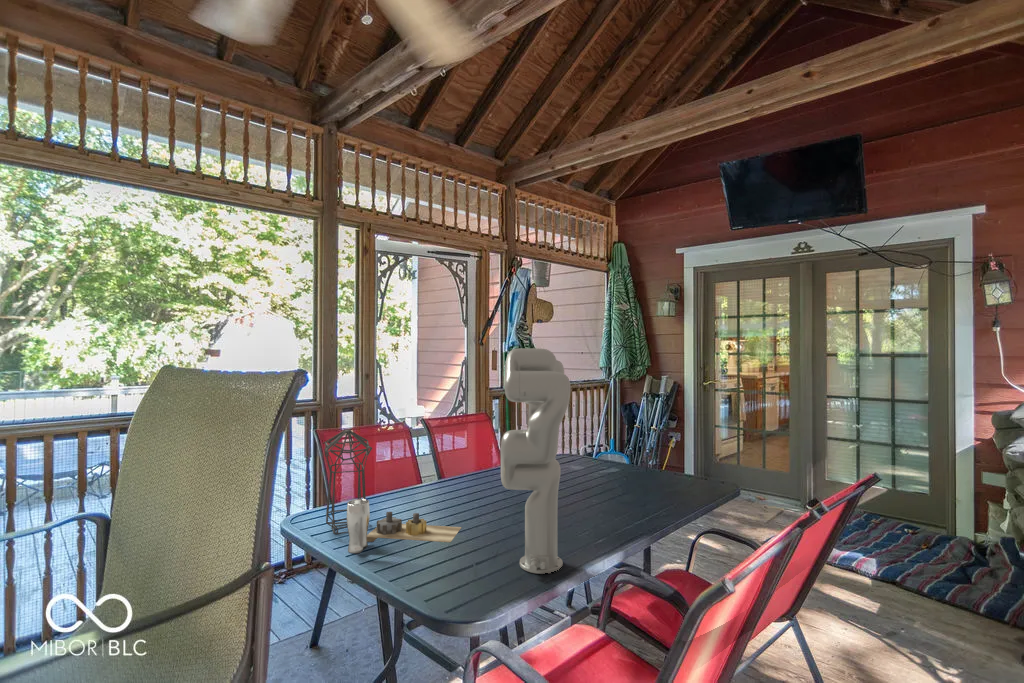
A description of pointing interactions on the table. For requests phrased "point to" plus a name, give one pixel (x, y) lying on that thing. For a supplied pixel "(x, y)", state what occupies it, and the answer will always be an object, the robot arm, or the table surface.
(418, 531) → the brass gear
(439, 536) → the gear board
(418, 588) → the table surface
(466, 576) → the table surface
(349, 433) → the geometric lantern
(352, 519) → the beer glass
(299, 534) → the table surface
